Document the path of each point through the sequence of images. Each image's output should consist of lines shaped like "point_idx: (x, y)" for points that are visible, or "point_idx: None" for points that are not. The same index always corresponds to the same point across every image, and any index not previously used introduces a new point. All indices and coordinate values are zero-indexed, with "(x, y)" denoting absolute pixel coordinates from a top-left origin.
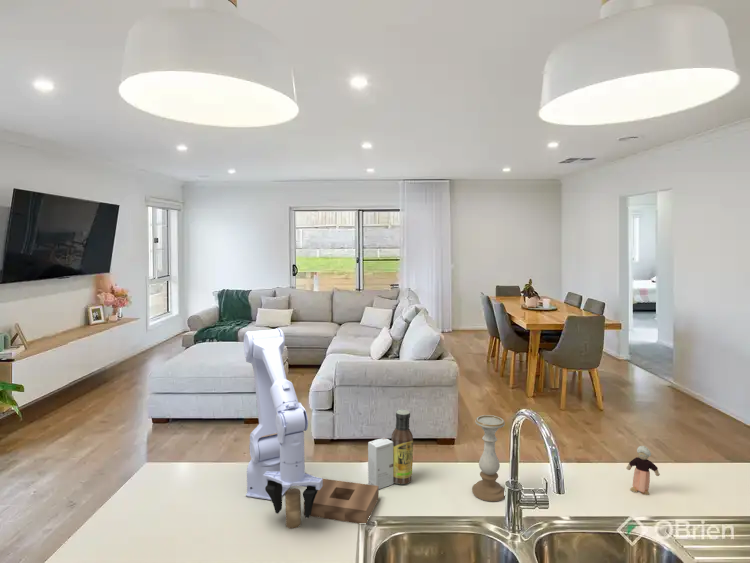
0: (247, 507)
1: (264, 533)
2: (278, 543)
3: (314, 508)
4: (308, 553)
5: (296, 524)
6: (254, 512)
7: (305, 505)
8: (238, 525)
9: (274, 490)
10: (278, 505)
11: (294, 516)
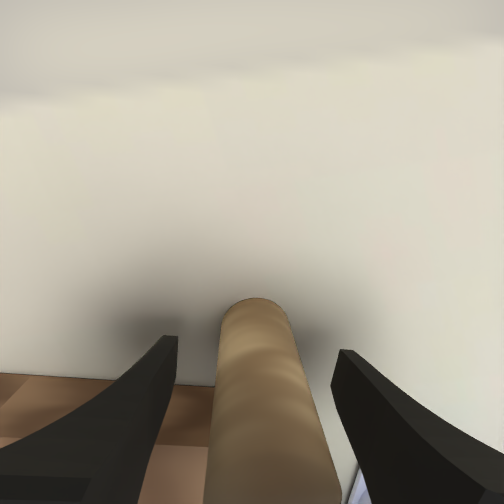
0: (479, 400)
1: (368, 247)
2: (281, 182)
3: (169, 418)
4: (99, 120)
5: (231, 314)
6: (444, 376)
7: (142, 386)
8: (498, 286)
9: (466, 495)
10: (355, 389)
11: (240, 335)
